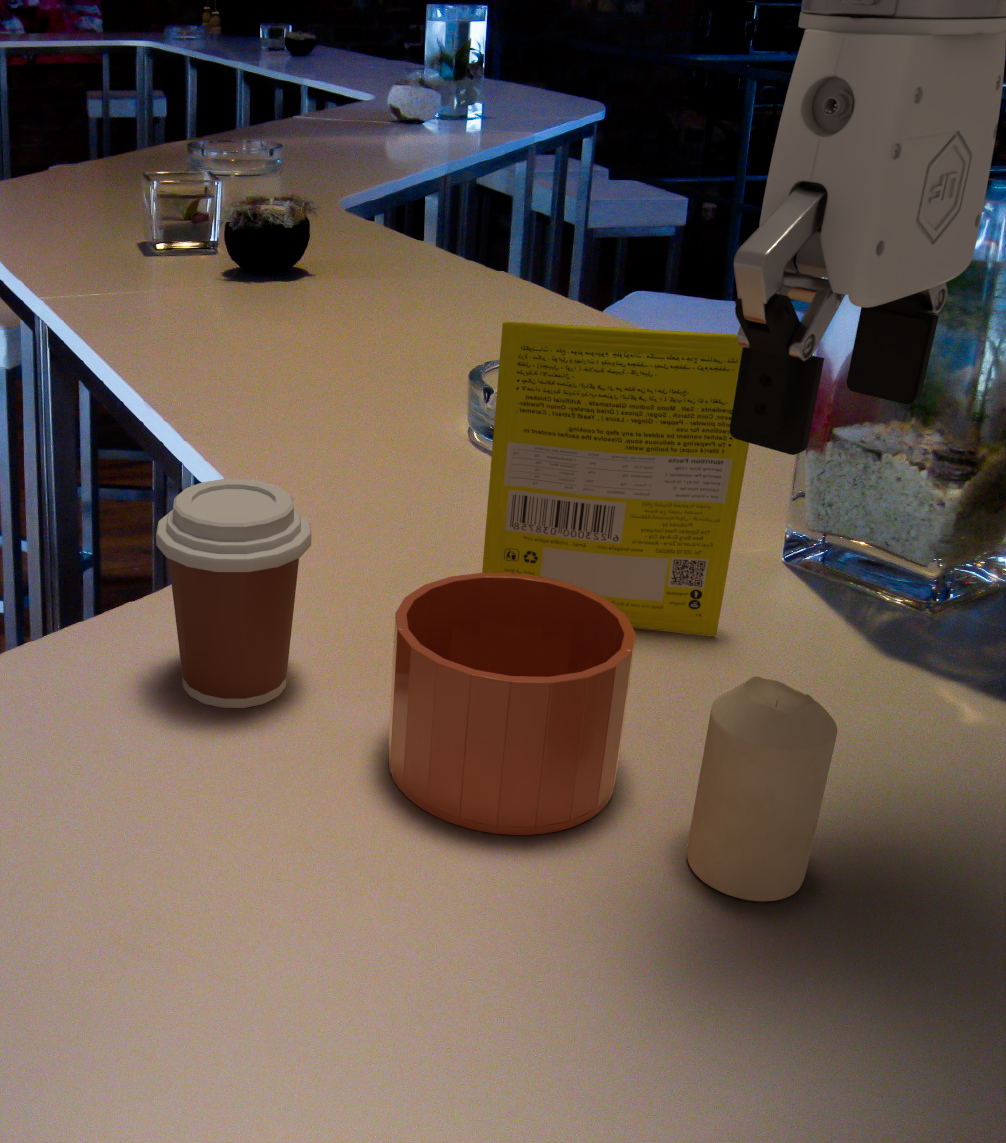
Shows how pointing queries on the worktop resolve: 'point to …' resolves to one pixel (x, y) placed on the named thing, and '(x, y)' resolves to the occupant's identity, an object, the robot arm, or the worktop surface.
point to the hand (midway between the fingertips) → (826, 419)
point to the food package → (618, 467)
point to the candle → (760, 790)
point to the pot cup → (508, 701)
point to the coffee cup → (234, 587)
